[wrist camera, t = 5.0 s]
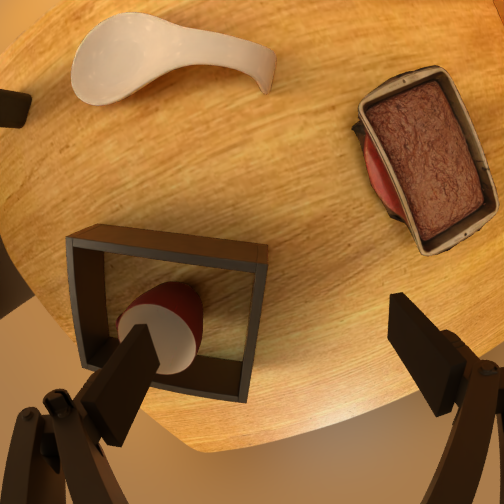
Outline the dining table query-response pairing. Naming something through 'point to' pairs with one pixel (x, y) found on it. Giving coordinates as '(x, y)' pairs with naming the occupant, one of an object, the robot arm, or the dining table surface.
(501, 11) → the bread
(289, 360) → the dining table surface
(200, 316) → the mug
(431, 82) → the baking dish
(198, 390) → the dark rectangular frame
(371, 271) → the dining table surface
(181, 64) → the spoon rest
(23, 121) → the candle
